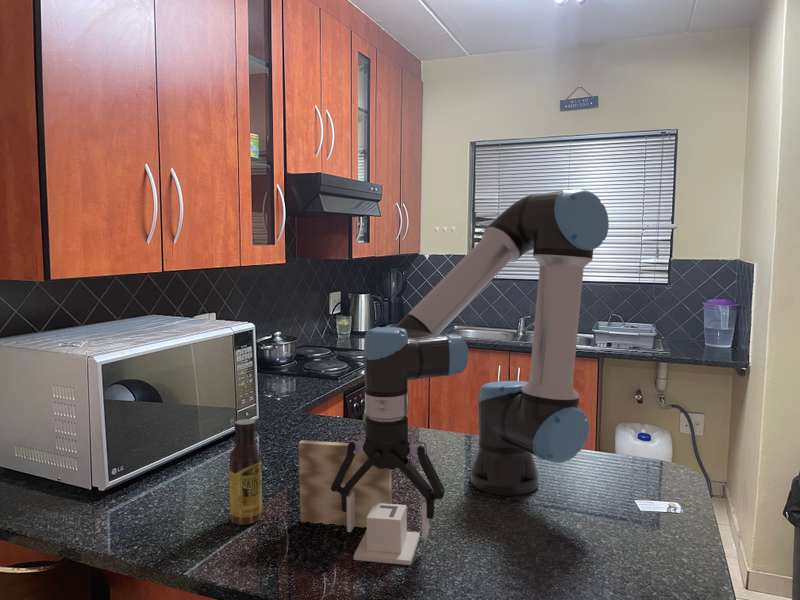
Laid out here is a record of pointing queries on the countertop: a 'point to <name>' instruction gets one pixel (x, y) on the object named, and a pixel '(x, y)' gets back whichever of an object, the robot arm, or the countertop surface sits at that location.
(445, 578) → the countertop surface
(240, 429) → the sauce bottle
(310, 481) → the screen
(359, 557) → the tile
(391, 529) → the letter cube
